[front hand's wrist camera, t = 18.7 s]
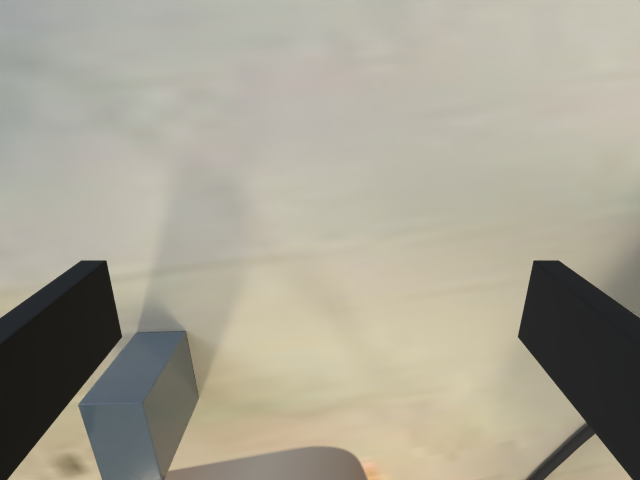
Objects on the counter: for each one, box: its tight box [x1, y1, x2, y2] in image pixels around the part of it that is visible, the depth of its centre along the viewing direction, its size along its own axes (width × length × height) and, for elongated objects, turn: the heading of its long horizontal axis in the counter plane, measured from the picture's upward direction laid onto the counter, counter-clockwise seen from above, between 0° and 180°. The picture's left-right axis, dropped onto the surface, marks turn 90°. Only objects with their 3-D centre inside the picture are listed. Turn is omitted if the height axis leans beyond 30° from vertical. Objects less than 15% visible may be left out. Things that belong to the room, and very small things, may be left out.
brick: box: [78, 331, 199, 480], centre depth 40 cm, size 6×9×11 cm, turn 3°
